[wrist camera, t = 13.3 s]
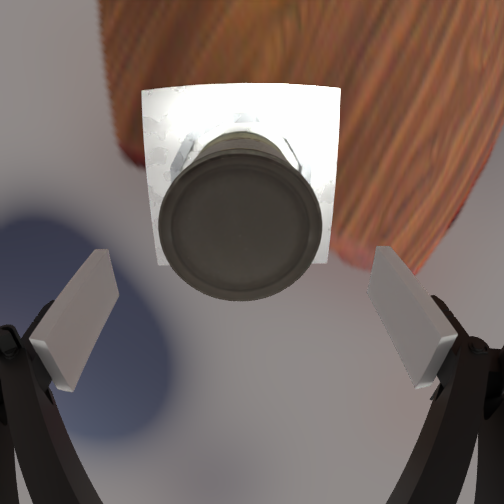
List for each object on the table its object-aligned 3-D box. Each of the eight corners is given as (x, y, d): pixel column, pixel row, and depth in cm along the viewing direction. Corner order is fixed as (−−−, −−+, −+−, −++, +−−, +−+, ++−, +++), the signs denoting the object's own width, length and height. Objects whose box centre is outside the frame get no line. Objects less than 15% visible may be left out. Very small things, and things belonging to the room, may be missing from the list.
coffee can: (309, 188, 32) (351, 247, 20) (232, 242, 35) (228, 325, 22) (250, 109, 28) (256, 113, 16) (171, 171, 31) (125, 221, 19)
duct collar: (144, 90, 28) (136, 90, 26) (337, 88, 28) (344, 87, 26) (159, 261, 37) (155, 271, 35) (325, 259, 37) (329, 269, 35)
